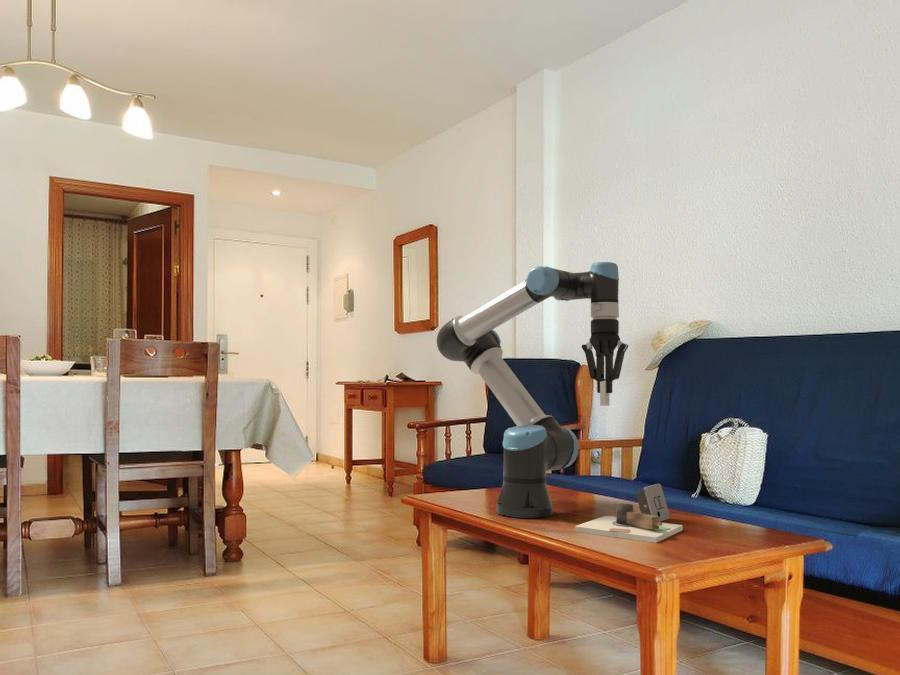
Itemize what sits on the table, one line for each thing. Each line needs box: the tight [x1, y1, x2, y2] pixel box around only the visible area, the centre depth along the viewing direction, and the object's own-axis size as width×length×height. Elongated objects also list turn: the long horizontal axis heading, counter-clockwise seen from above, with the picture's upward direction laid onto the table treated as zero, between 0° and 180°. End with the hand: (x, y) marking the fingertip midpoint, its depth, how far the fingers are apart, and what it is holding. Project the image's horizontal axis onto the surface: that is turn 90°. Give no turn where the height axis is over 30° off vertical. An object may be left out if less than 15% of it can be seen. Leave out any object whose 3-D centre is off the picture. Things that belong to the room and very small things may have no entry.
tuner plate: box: [574, 515, 684, 544], centre depth 178 cm, size 20×18×2 cm
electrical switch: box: [635, 483, 671, 522], centre depth 193 cm, size 9×5×9 cm, turn 141°
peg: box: [615, 502, 663, 530], centre depth 176 cm, size 14×4×4 cm, turn 31°
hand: (604, 405), depth 201 cm, fingers closed
